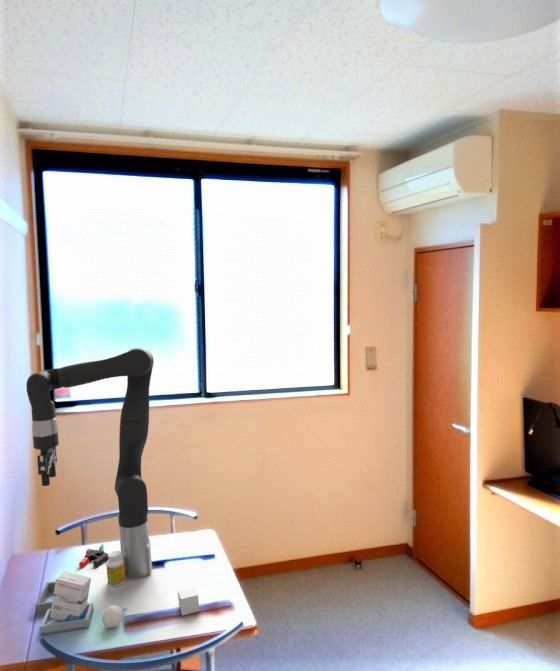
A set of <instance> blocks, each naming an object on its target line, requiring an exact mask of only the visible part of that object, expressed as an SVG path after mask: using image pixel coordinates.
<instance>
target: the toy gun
mask: <svg viewBox="0 0 560 671" xmlns="http://www.w3.org/2000/svg"><path fill="white" fill-rule="evenodd" d="M104 547H105V546H104V544H103V543H102V544H101V545H100V546H99V547H98V549H99V550H98V549H92V548H88V549H87V550H85V555H84V557H83V559H82V560H80V561H79V563H78V566H79V567H80V568H85V566H86V565H87V564H88V563H90V562H92V563H93V567H94V568H98V567H99V566H101V565H102V564H103V563H105V562H106V563H107V561H108V554H109V552H105V551H104V549H105V548H104Z"/></svg>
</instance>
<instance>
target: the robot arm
mask: <svg viewBox="0 0 560 671" xmlns="http://www.w3.org/2000/svg"><path fill="white" fill-rule="evenodd" d="M153 368H154V356H153V354H152V352H151V351H150V350H149V349H148V348H146V347H143V346H142V347H140V346H139V347H134V348H131V349H129V350H128V351H126V352H123V353H120V354H118V355H115V356H113V357H109V358H104V359H99V360H95V361H94V360H93V361H86V362H85V361H84V362H80V363H75V364H70V365H66V366H62V367H59V368H58V367H57V368H51V369H44V370H40V371H37V372H35V373H32V374H31V375H29V377H28V378H27V380H26V386H25V387H26V392H27V397H28V401H29V404H30V407H31V420H32V421H31V422H32V424H31V430H32V432H31V433H32V442H33V448H34V449H35V450H39V451H40V454H39V455H38V456H37V458H36V459H37V474H38V475H39V476H41V477H40V478H41V486H42V487H48V486H50V484H51V481H50V478H55V477H56V476H57V471H56V466H57V462H58V458H57V449H56V448H57V446H59V445H60V444H59V431H58V429H59V428H58V422H57V415H56V406H55V402H54V400H51V393H50V392H51V391H53V390H58V389H61V388H62V389H63V388H67V389H68V388H73V387H79V386H82V385H83V386H84V385H86V384H87V385H88V384H91V383H94V382H98V381H102V380H106V379H111V378H119V377H127V378H126V379H127V381H126V382H127V384H126V385H127V386H126V392H125V396H124V400H123V403H122V407H121V412H120V417H119V418H120V419H119V438H118V439H119V440H118V442H119V443H118V445H119V446H118V449H119V450H118V452H119V457H118V458H119V459H118V466H117V472H116V476H115V482H114V491H115V493H116V495H117V502H118V518H117V519H118V530H119V544H120V546H119V547H120V552H121V558H123V560H124V572H125V579H129V580H136V579H141V578H144V577H146V576H149V575H151V573H152V569H153V568H152V566H153V565H152V552H151V541H150V538H149V536H150V533H149V524H148V522H149V521H148V513H149V504H148V502H149V500H148V489H147V485H146V483H145V481H144V480H143V479H142V478H143V477H142V457H143V453H144V449H145V446H146V443H147V440H148V434H149V427H150V426H149V425H150V424H149V423H150V385H151V379H152V378H151V377H152V372H153Z"/></svg>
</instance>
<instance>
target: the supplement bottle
mask: <svg viewBox="0 0 560 671" xmlns="http://www.w3.org/2000/svg"><path fill="white" fill-rule="evenodd" d="M105 564H106V565H105V566H106V576H107V577H106V578H107V579H106V580H107V585H108V586H109V587H119V586H121V585H123V584H124V583H125V582H126V578H125V572H124V560H123V558H121V550H120V551H119V550H113V551H110V552H108V561H106V563H105Z"/></svg>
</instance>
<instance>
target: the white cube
mask: <svg viewBox="0 0 560 671" xmlns="http://www.w3.org/2000/svg"><path fill="white" fill-rule="evenodd" d="M177 596H178V597H177V599H178V607H179V606H180V608H181V611H180V613H182V614H181V616H186V615H189V614H193V613H197V612H199V611H200V604H199V593H198V592H197V589H196V587H195V586H191V587H187V588H183V589H179V590H177ZM180 608H179V609H180Z"/></svg>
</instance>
